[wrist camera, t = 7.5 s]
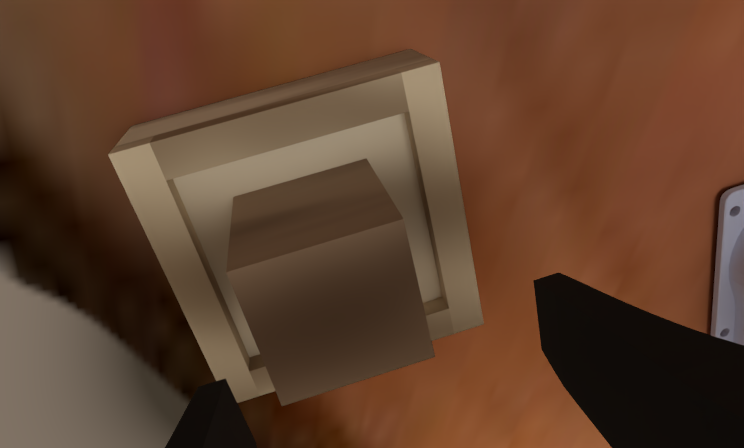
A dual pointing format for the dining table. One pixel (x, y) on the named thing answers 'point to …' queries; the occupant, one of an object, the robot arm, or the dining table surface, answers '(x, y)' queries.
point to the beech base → (291, 161)
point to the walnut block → (326, 281)
